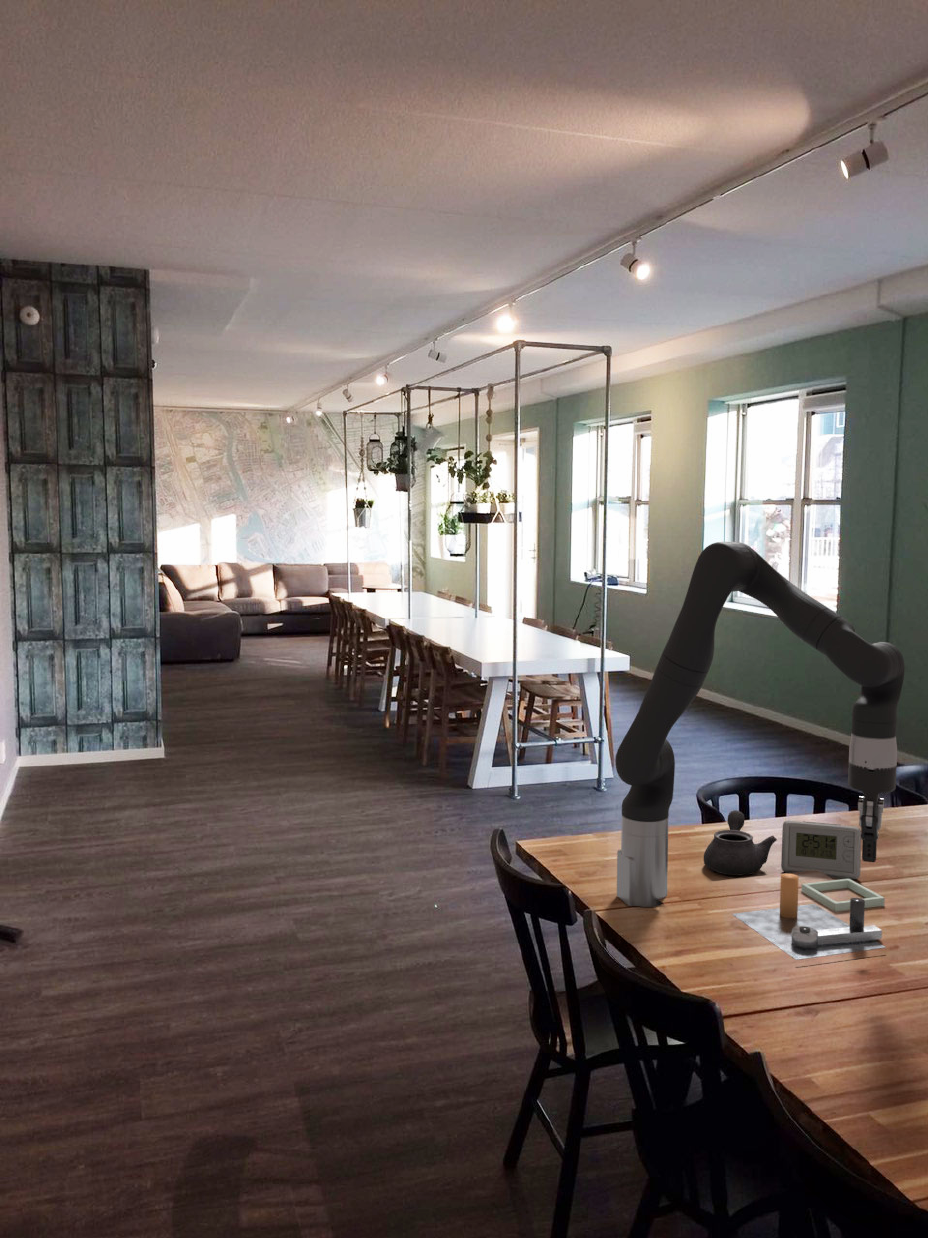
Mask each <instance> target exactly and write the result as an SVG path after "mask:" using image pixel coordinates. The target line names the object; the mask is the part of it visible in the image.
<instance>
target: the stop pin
mask: <svg viewBox="0 0 928 1238" xmlns="http://www.w3.org/2000/svg"><path fill="white" fill-rule="evenodd" d="M779 889H780V890H779V891H780V892H779V896H780V897H779V908H780V915H781V916H782V917H785V918H796V917H797V913H798V906H799V905H798V904H799V875H797V874H795V873H782V874H780V888H779Z"/></svg>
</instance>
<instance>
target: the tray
mask: <svg viewBox="0 0 928 1238" xmlns="http://www.w3.org/2000/svg"><path fill="white" fill-rule="evenodd" d="M800 889H801V890H800V891H801V893H803V894H805V895H807V896H808V897H810V898H812V899H813V900H815V901H817V902H819V903H820V904H822V905H823V906H825V907H827V908H828V909H830V910H831V911H833V912H835V913H836V912H843V911H850V899H848V900H841V901H836V900H834V899H833V898H831V897H829V896H827V895H825V894H823V892H824V891H830V890H831V891H832V890H839V889H849V890H851V891H853V892H855V893H857V894H858V895H861V896H862V897H864V898H862V899H863V900H865V909H868V908H873V907H874V908H876V907H883V908H884V907H885V903H886V901H885V897H884V896H882V895H881V894H879V893H876V892H875V891H873V890H871V889H869V888H867V887H865V886H863V885H861V884H860V883H858V882H857V881H854V879H847V878H842V879H833V880H824V881H815V882H808V883H801V888H800Z"/></svg>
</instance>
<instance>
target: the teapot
mask: <svg viewBox="0 0 928 1238" xmlns="http://www.w3.org/2000/svg"><path fill="white" fill-rule="evenodd" d="M745 819H746V818H745V814H744V813H743V812H742V811H740V810H737V809H736V810H732V811H729V813H728V815H727V825H728V827H729V829H723V830H717V831H716V832H714V834H713V839H712V840H711V841H710V843H709V844H708V846H706V849H705V851H704V854H703V864H704V865H705V866H706V867H707V868H708V869H710V870H712V871H714V872H717V873H719V874H723V875H730V876H745V875H751V874H755V873H757V872H759V871H760V870H761V869H762V867H763V865H764V864H766V862H767V861H768V857H769V853H770V850H771V848H772V846H773V845H774V844H775V843H776V841H778V838H776V837H775V836H774V835H770V836H769V837H766V838H765V839H764V840H763V841H761V842H758V843H754V841H753V840H754V836H753V835H752V834H750V833H749V832H745V831H743V830H741V829H743V827H744V825H745Z"/></svg>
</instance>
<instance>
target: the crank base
mask: <svg viewBox="0 0 928 1238" xmlns="http://www.w3.org/2000/svg"><path fill="white" fill-rule="evenodd" d="M731 915H732V916H733V917H735V918H737V919H738V920H739V921H741V922H742V923H744V924H745V925H747V926H748V927H749V928H751V929H752V930H753V931H755V932H756V933H757V934H759V935H760V936H762V937H763V938H765V939H766V940H767V941H768V942H770V943H772V944H773V945H775V946H776V947H777V948H778V949H780V950H781V951H783V952H784V953H786V954H787V955H789V956H790V957H791V958H793V959H794V960H795V961H798V960H807V959H813V958H819V957H820V958H821V957H828V956H834V955H843V954H851V953H855V952H863V951H870V950H879V949H886V948H887V947H886V946H885V945H883V944H881V943H880V942H878V941H877V940H866V941H855V942H843V943H832V944H821V945H817V946H816V947H814V948H802V947H798V946H796V945H794V944H793V943H792V942H791V938H792V928H794V927H798V926H804V927H810V928H813V929H815V930H823V929H835V928H847V927H849V925H850V923H849V924H848V922H845V921H844V920H842V919H841V918H839V917H837V916H835V915H834V914H832V913H830V912H829V911H827V910H825V909H824V908H822V907H821V906H819V905H817V904H815V903H810V904H808V903H807V904H802V905H801V904H800V905H798V913H797V917H796V918H785V917H782V916H781V915H780V907H775V908H769V909H762V910H751V911H742V912H735V913H731ZM885 956H887V955H886V954H883V955H882V954H881V955H874V956H868V957H862V958H861V957H860V958H854V959H847V960H845V959H844V960H840V961H832V962H825V963H824V962H823V963H818V964H811V965H810V964H809V965H802V966H797V967H796V966H795V969H799V968H800V969H801V968H807V967H814V966H820V965H826V964H827V965H828V964H834V963H842V962H848V961H856V960H857V961H858V960H863V959H870V958H877V957H885Z"/></svg>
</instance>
